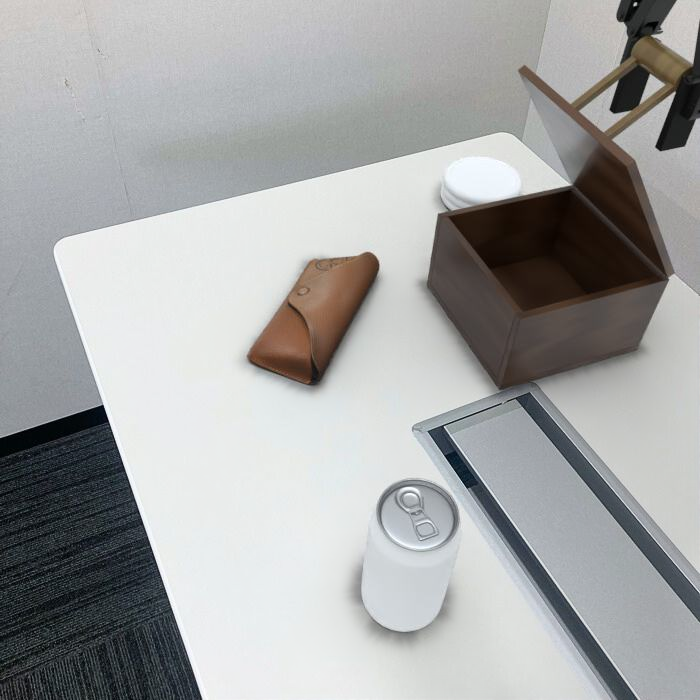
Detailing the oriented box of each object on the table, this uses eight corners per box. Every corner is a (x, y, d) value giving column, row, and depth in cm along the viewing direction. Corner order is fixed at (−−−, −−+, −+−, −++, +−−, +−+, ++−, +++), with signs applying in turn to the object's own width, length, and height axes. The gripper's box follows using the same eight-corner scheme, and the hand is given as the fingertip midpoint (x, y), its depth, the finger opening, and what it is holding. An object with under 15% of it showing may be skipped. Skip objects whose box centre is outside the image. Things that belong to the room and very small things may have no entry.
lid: (626, 166, 58) (742, 79, 57) (517, 70, 69) (611, -7, 67) (668, 278, 72) (762, 210, 70) (571, 183, 82) (651, 122, 80)
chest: (499, 390, 74) (520, 319, 67) (426, 284, 85) (437, 213, 78) (637, 349, 79) (670, 279, 72) (551, 254, 90) (573, 184, 82)
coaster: (534, 204, 96) (540, 181, 94) (481, 233, 92) (486, 209, 89) (476, 169, 101) (481, 146, 99) (423, 195, 97) (427, 171, 94)
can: (420, 545, 62) (438, 461, 54) (457, 616, 58) (483, 537, 50) (348, 572, 60) (355, 489, 52) (381, 647, 56) (394, 570, 48)
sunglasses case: (309, 254, 87) (339, 221, 82) (357, 291, 88) (389, 260, 83) (241, 361, 75) (271, 329, 70) (298, 401, 76) (331, 373, 71)
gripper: (628, -206, 57) (553, 85, 73) (823, -135, 45) (681, 193, 61) (706, -208, 59) (616, 74, 76) (913, -142, 47) (752, 176, 64)
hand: (646, 127), depth 68 cm, fingers closed on lid, 6 cm apart
